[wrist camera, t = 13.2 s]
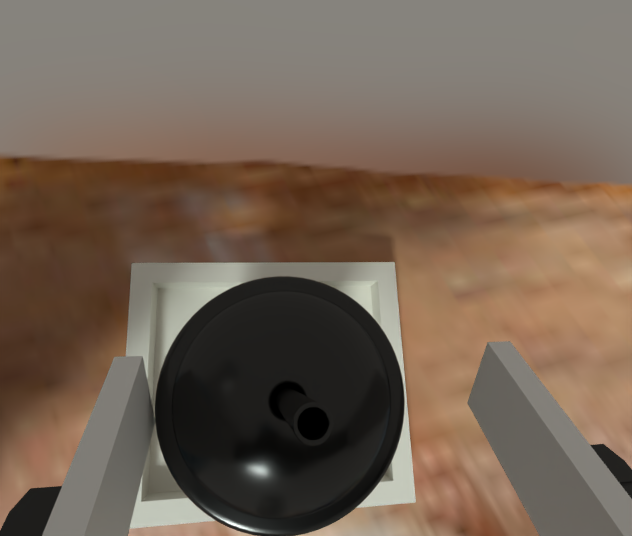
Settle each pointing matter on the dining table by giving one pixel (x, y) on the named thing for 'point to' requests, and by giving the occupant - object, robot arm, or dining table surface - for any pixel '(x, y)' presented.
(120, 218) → the dining table surface
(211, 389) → the drinking cup
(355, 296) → the tray
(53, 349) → the dining table surface
